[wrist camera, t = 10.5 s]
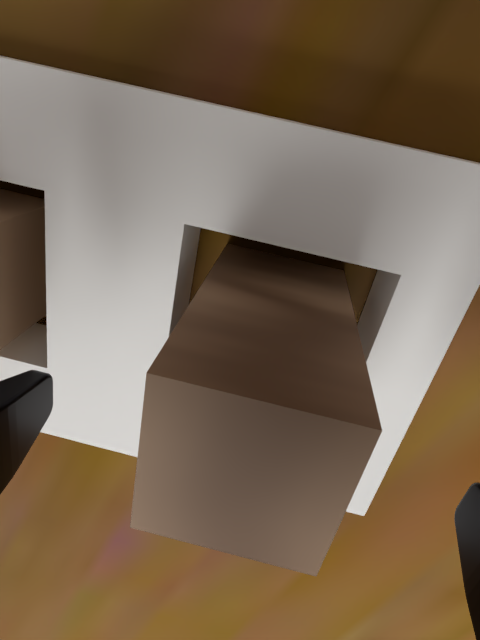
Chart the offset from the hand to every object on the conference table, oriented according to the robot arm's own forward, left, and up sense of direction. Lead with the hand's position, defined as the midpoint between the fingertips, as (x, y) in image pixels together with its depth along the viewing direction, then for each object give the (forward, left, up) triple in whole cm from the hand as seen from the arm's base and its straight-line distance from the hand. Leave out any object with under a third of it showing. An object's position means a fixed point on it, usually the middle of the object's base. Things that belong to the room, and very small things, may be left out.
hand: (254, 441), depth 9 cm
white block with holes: (-5, 0, -7) cm, 8 cm away
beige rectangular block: (0, 0, -7) cm, 7 cm away
